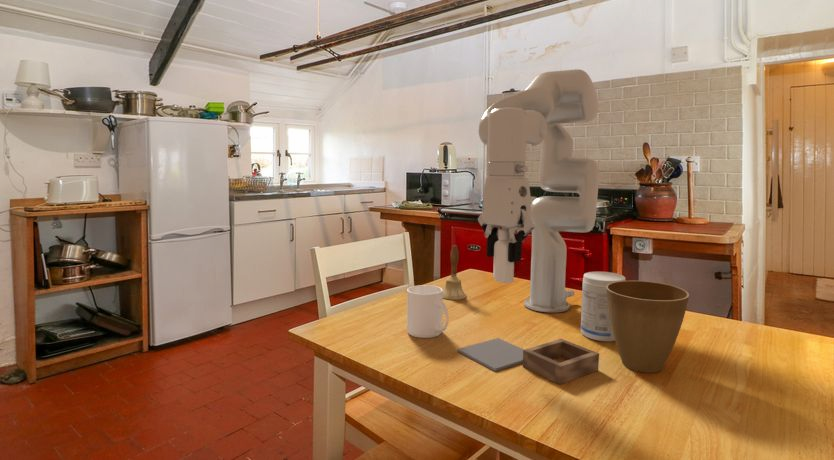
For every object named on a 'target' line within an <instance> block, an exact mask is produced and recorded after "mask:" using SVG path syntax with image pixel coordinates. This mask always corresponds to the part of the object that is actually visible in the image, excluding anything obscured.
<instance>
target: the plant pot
mask: <svg viewBox="0 0 834 460" xmlns="http://www.w3.org/2000/svg"><path fill="white" fill-rule="evenodd" d="M606 290H607V300H608V308H609V315H610V320H611V325H612V330H613V334H614V338H615V341H614V342H615V344H616V347H617V351H618V354H619V357H620V360H621V362H622V365H624V366H625V367H626V368H628V369H631V370H633V371H635V372H641V373H658V372H661V371H662V370H663V368H664V366H665V364H666V362H667V361H668V358H669V357H670V354H671V353H672V350H673V348H674V345H675V343H676V341H677V338H678V336H679V334H680V331H681V328H682V324H683V322H684V317H685V314H686V311H687V306H688V303H689V299H690V293H689V291H687V290H686V289H683V288H681V287H680V286H679V287H678V286H676V285H673V284H669V283H663V282H657V281H650V280H649V281H648V280H625V281H617V282H612V283H610V284H608V285H607V286H606Z"/></svg>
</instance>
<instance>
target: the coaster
mask: <svg viewBox="0 0 834 460" xmlns="http://www.w3.org/2000/svg"><path fill="white" fill-rule="evenodd" d="M523 350H525V349H524V348H522V347H520V346H517V345H515V344H513V343H510V342H508V341H506V340H504V339H501V338H498V337H496V338H493V339H489V340H486V341H485V340H484V341H482V342H478V343H474V344H471V345H466V346H463V347H460V348H457V349H456V352H457V353H460V354H461V355H463V356H464V357H467V358H469V359H471V360H473V361H475V363H478V364H480V365H481V366H484V367H486V368H488V369H490V370H491V371H494V372H498V371H501V370H504V369H507V368H510V367H514V366H517V365H521V364H523Z"/></svg>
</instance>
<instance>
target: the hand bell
mask: <svg viewBox="0 0 834 460" xmlns="http://www.w3.org/2000/svg"><path fill="white" fill-rule="evenodd" d="M451 247H452V248H451V250H450V253H449V254H450V263H451V264H450V265H451V270H450V271H451V272H450V276H449V277H447V278H446V280H445V286H444V288H443V299H444V300H449V301H457V300H458V301H459V300H464V299H466V298H467V293H465V292H464V290H463V286H462V280H461V278H459V277H457V274H458V272H457V271H458V269H457V265H458V262H459V259H460V258H459V257H460V255H459V249H458V245H456V244H453V245H452V246H451Z"/></svg>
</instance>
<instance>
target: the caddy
mask: <svg viewBox="0 0 834 460" xmlns="http://www.w3.org/2000/svg"><path fill="white" fill-rule="evenodd" d="M560 358H562V359H563V360H564V361H562V362H559V361H557V360H558V359H560ZM599 361H600V352H596V351H594V350H591V349H589V348H586V347H583V346H581V345H579V344H576V343H574V342H571V341H569V340H565V339H563V338H559V339H557V340H552V341H549V342H546V343H543V344H538V345H536V346H532V347H528V348H526V349H524V350H523V363H522V367H523V368H525V369H527V370H528V371H530V372H531V371H532V372H533V373H535V374H537V375H539V376H542V377H543V378H545V379H548V380H550V381H551V382H554V383H556V384H557V385H563V384H565V383H568V382H570V381H573V380H575V379H577V378H581V377H584V376H586V375H589V374H591V373H595V372H596V371H599V365H600V364H599V363H600V362H599Z"/></svg>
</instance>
